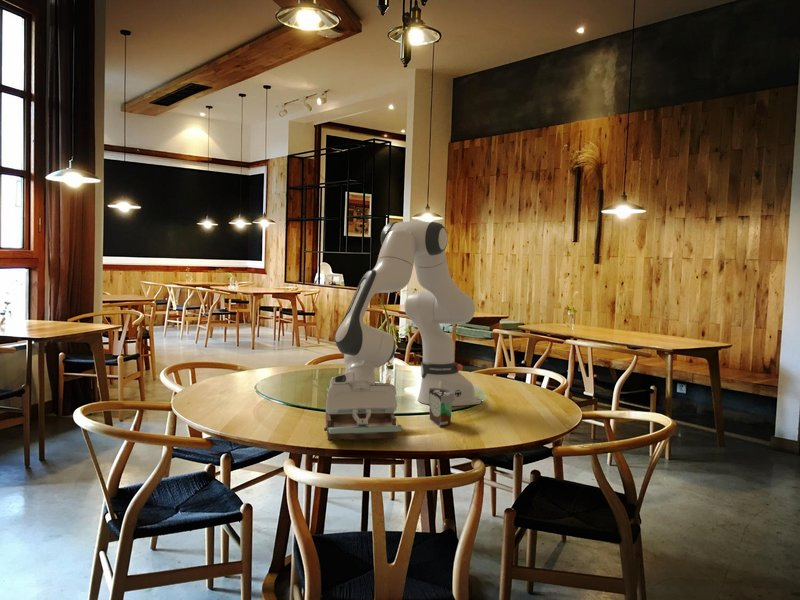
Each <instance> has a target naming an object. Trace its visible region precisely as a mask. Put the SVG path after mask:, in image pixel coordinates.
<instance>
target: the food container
mask: <svg viewBox="0 0 800 600" xmlns="http://www.w3.org/2000/svg"><path fill="white" fill-rule="evenodd" d="M454 400H455V397H454V394H453V392H452V391H451V390H448V389H442V388H429V403H430V404H429V420H430V421H431V422H432V423H433V424H435V425H436V426H437V427H439V428H445V427H449V426H451V422H452V419H451V418H452V409H453V406H452V402H453V401H454Z"/></svg>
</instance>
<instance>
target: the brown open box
mask: <svg viewBox="0 0 800 600" xmlns="http://www.w3.org/2000/svg"><path fill="white" fill-rule="evenodd" d="M326 399H327V393H326V394H325V400H326ZM357 416H358V417H359V419H365V418H366V414H358V415H357ZM396 425H397V426H400V427H402V425H401V424H397V418H396V416H395V414H394V413H371V417H370V418H369V420H368V426H396ZM333 427H357V422H356V421H355V419H354V418H353V417H352V414H328V413H327V412H326V411H325V427H323V428H324V429H323V431H324V432H326V431H327V432H326V438H327V437H328V438H327V440H328V439H344V440H364V439H365V440H369V439H396V438H398V431H395V432H377V433H372V434H354V433H335V434H330V433H329V428H333Z"/></svg>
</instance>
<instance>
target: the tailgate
mask: <svg viewBox="0 0 800 600" xmlns="http://www.w3.org/2000/svg"><path fill="white" fill-rule="evenodd" d="M395 431H397V432H402V426H401V427H400V426H398V424H396V426H368V427H333V428H329V433H330V434H335V433H354V434H372V433H377V432H395Z"/></svg>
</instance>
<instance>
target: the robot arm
mask: <svg viewBox="0 0 800 600" xmlns="http://www.w3.org/2000/svg"><path fill="white" fill-rule="evenodd" d="M448 239H449V237H448V231H447V228H446V227H445V226H444V224H442V223H440V222H437V221H425V220H424V221H423V220H413V221H410V220H409V221H400V222H398V221H392V222H388V223H387V224H385V226H384V227H383V228H382V231H381V233H380V244H381V247H380V250H379V254H378V257H377V261H376V264H375V266H374V267H373V268H372V269H371V270H368V271H366V273H364V274H363V276H362V277H361V279H360V281H359V283H358V285H357V288H356V290H355V292H354V294H353V296H352V299H351V301H350V304H349V306H348V308H347V311H346V313H345V315H344V316H343V319H342V321H341V322H340V324H339V326H338V328H337V329H336V332H335V335H334V341H335V342H334V343H335V345H336V347H337V349H338V350H339V352H340V353H341V354H343V363H344V367H346V369H345V371H344V373H343V374H339V375H335V376H333V377H331V379H330V381H329V388H328V390H327V393H326V394H327V399H326V398H325V413H326V412H327V413H328V414H352V417H353V418H354V419H355V421H356V422H357V427H368V420H369V418H370V417H371V413H393V414H394V413H395V412H396V410H397V407H398V402H397V398H396V395H397V388H396V385H394V384H392V383H391V382H384V383H383V382H376V377H375V369H376V368H379V367H382V366H384V365H385V364H387V363H389V362H390V361H391V360H392V359H394V357H395V353H396V340H395V338H394V336H393V334H391V333H389V332H387V331H384V330H381V329H380V328H376V327H374V326H371V325H368V324H365V322H364V317H365V315H366V313H367V309H368V307H369V305H370V302H371V300H372V298H373V296H375V294H381V293H382V294H383V293H384V294H385V293H395V292H398V291H401V290H403V289H405V288H406V286H408V284H409V282H410V281H411V277H412V274H413V270H414V269H415V274H416V279H417V282H418V283H419V285H420V286H421V287H422V288H423V289H425V291H417V292H411V293H409V295H407V297H406V299H405V301H404V308H403V309H404V312H405V314H406V316H407V318H409V320H411V321H412V322H413V324H414V325H415V327H417V329H418V332H419V334H420V336H421V337H420V338H421V341H422V342H421V343H422V344H421V345H422V361H421V365H420V376H421V384H420V389H419V395H418V396H417V401H418V402H419V403H421V404H424V405H425V404H426V405H430V403H429V388H442V389H448V390H451V391H452V392H453V394H454V397H455V400H454V401H453V402H452V407H460V406H461V407H462V406H470V405H471V406H472V405H473V406H474V405H480V404H482V399H481V397H480V396H479V395H477V394H475V393H476V392H475V387H474V384H473V383H472V382H471V380H469V379H468V378H467V377H465V376H464V375H463V374H461V373H460V372H459V371H462V370H463V368H464V366H463V365H462V364H461V363H458V362H456V361H455V342H454V340H453V338H452V336H451V335H449V334H448V333H445V331H443V329H442V328H441V324H445V325H446V324H449V325H458V324H459V325H460V324H466V323H469V322H470V321H471V320H472V319H473V318H474V315H475V312H476V305H475V301H474V300H473V299H472V297H471V296H470V295H468V294H466V293H465V292H464V291H463V290H462V289H460V288H459V287H458V285H457V284H456V283H455V281H454V280H453V278H452V277H451V273H450V269H449V264H448V260H447V259H448V258H447V254H446V249H447V246H448ZM426 290H427V291H426ZM358 414H366V418H365V419H359V417H358V416H357V415H358Z"/></svg>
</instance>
